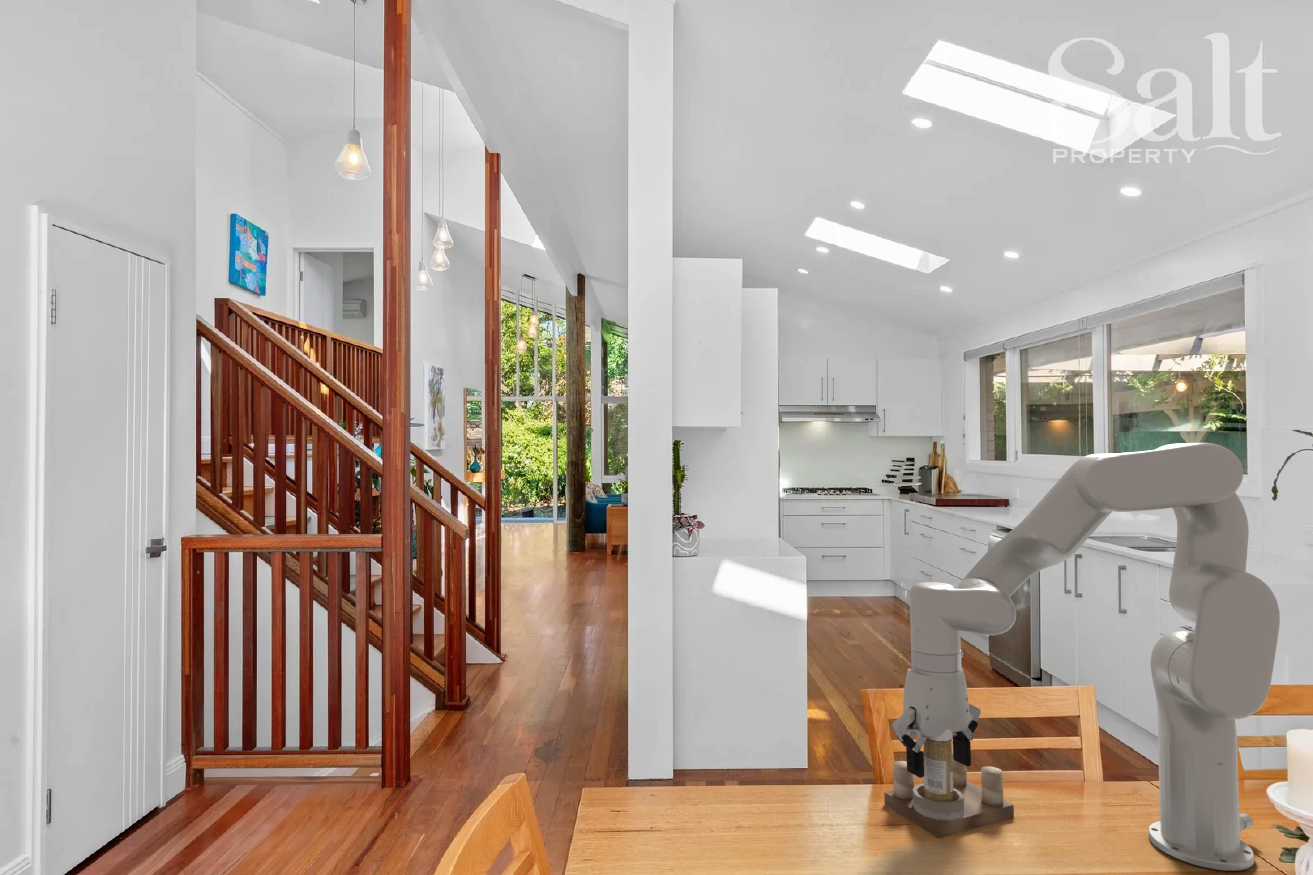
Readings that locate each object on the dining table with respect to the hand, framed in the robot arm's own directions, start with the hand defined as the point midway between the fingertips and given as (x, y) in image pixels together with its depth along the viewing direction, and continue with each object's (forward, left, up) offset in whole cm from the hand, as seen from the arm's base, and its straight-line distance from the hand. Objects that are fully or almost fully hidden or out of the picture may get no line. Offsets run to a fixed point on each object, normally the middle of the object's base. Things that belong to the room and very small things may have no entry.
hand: (939, 768), depth 117 cm
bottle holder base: (-4, -2, -8) cm, 10 cm away
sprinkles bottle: (0, 0, -7) cm, 7 cm away
